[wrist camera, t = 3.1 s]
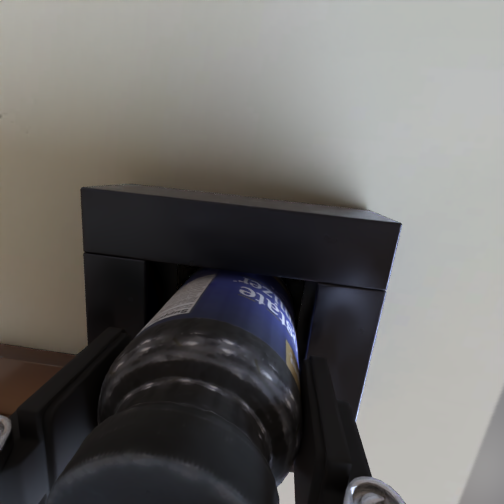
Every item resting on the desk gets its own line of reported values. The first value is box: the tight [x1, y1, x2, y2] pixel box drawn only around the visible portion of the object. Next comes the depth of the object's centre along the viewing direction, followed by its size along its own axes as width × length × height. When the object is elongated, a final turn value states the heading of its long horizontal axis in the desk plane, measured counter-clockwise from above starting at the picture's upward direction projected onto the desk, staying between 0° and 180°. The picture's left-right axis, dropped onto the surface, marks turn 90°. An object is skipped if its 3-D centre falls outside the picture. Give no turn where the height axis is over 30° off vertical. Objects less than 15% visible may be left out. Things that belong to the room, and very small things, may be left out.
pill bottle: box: [46, 267, 303, 504], centre depth 11 cm, size 6×6×11 cm
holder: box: [81, 184, 402, 472], centre depth 14 cm, size 12×12×4 cm
